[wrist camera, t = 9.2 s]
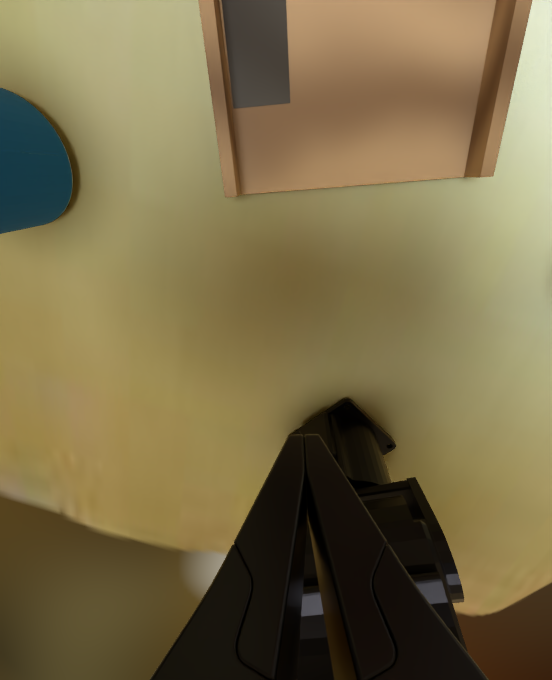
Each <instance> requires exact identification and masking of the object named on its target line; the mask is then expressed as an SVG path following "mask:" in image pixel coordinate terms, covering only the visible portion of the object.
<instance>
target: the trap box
mask: <svg viewBox="0 0 552 680" xmlns="http://www.w3.org/2000/svg"><path fill="white" fill-rule="evenodd" d="M531 4H532V0H199V8H200V15H201V22H202V30H203V37H204V44H205V52H206V59H207V66H208V74H209V81H210V89H211V96H212V103H213V111H214V118H215V125H216V133H217V140H218V148H219V155H220V162H221V170H222V177H223V184H224V192H225V197H236V196H239V195H242V194H255V193H267V192H280V191H293V190H305V189H318V188H331V187H343V186H356V185H369V184H381V183H394V182H407V181H419V180H432V179H445V178H457V177H491V176H493V175H494V171H495V166H496V162H497V157H498V153H499V148H500V144H501V139H502V135H503V130H504V126H505V121H506V117H507V112H508V108H509V103H510V99H511V94H512V90H513V85H514V81H515V76H516V72H517V67H518V63H519V58H520V54H521V49H522V45H523V40H524V36H525V31H526V27H527V22H528V18H529V13H530V9H531Z"/></svg>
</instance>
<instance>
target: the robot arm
mask: <svg viewBox="0 0 552 680" xmlns="http://www.w3.org/2000/svg"><path fill="white" fill-rule="evenodd" d="M345 405H349V406H345ZM388 444H390V445H388ZM395 447H396V444H395V441H394V440H393V439H392V438H391V437H390V436H389V435H388V434H387V433H386V432H385V431H384V430H383V429H382V428H381V427H380V426H378V425H377V424H376V423H375V422H374V421H373V420H372V419H371V418H370V417H369V416H368V415H367V414H366V413H365V412H364V411H363V410H361V409H360V408H359V407H358V406H357V405H356V404H355V403H354V402H353V401H352V400H350V399H343V400H342V401H340V402H339V403H337V404H336V405H334V406H333V407H331V408H330V409H328V410H327V411H325V412H323V413H322V414H320V415H319V416H317V417H316V418H314V419H313V420H311V421H310V422H308V423H307V424H305V425H304V426H302V427H301V428H300V429H299V430H297V431H296V432H294V433H293V434H291V435H289V436H288V438H287V439H286V441H285V443H284V445H283V447H282V449H281V451H280V453H279V455H278V457H277V459H276V461H275V463H274V465H273V467H272V469H271V471H270V473H269V475H268V477H267V478H266V480H265V482H264V484H263V486H262V488H261V490H260V492H259V494H258V496H257V498H256V500H255V502H254V504H253V506H252V508H251V510H250V512H249V514H248V516H247V517H246V519H245V521H244V523H243V525H242V527H241V529H240V531H239V533H238V535H237V537H236V539H235V541H234V545H232V546H231V548H230V550H229V552H228V554H227V556H226V558H225V560H224V562H223V564H222V566H221V567H220V569H219V571H218V573H217V575H216V576H215V579H214V580H213V582H212V584H211V586H210V587H209V589H208V590H207V592H206V594H205V595H204V597H203V598H202V600H201V602H200V603H199V605H198V607H197V608H196V610H195V611H194V613H193V614H192V616H191V618H190V619H189V621H188V622H187V624H186V625H185V627H184V628H183V630H182V631H181V633H180V634H179V636H178V637H177V639H176V640H175V642H174V643H173V645H172V647H171V648H170V650H169V651H168V653H167V654H166V656H165V657H164V659H163V660H162V662H161V664H160V665H159V666H158V668H157V670H156V671H155V673H154V674H153V676H152V677H151V679H150V680H488V678H487V677H486V676H485V674H484V673H483V672H482V671H481V669H480V668H479V667H478V665H477V664H476V663H475V662H474V660H473V659H472V658H471V656H470V655H469V654H468V652H467V649H466V646H465V642H464V639H463V636H462V633H461V629H460V626H459V623H458V620H457V617H456V613H455V610H454V607H453V604H452V603H459V602H464V595H463V590H462V586H461V582H460V579H459V575H458V572H457V569H456V566H455V563H454V560H453V557H452V554H451V551H450V549H449V546H448V543H447V541H446V538H445V536H444V534H443V531H442V529H441V527H440V525H439V523H438V521H437V519H436V517H435V515H434V513H433V511H432V509H431V507H430V505H429V503H428V501H427V499H426V497H425V495H424V493H423V491H422V489H421V487H420V485H419V483H418V482H417V480H416V478H415V477H413V478H407V480H405V481H399V482H393V483H391V480H390V476H389V473H388V470H387V467H386V464H385V461H384V458H383V455H385V454H386V453H388V452H390V451H392V450H393V449H395Z"/></svg>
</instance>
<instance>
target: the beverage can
mask: <svg viewBox="0 0 552 680" xmlns="http://www.w3.org/2000/svg"><path fill="white" fill-rule="evenodd" d="M72 188H73V176H72V169H71V164H70V161H69V157H68V154H67V152H66V149H65V147H64V145H63V143H62V141H61V139H60V137H59V135H58V134H57V132H56V131H55V129H54V128H53V126H52V125H51V124H50V123H49V121H48V120H47V119H46V118H45V117H44V116H43V115H42V113H41V112H39V111H38V110H37V109H36V108H35V107H34V106H33V105H32V104H30V103H29V102H27V101H26V100H25V99H23V98H22V97H20V96H18V95H16V94H15V93H13V92H10V91H8V90H6V89H3V88H0V234H2V233H6V232H11V231H16V230H21V229H26V228H30V227H35V226H40V225H44V224H47V223H50V222H52V221H54V220H55V219H57V218H58V217H59V216H60V215H61V214H62V213H63V212H64V211H65V209H66V207H67V206H68V204H69V201H70V199H71V194H72Z"/></svg>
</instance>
